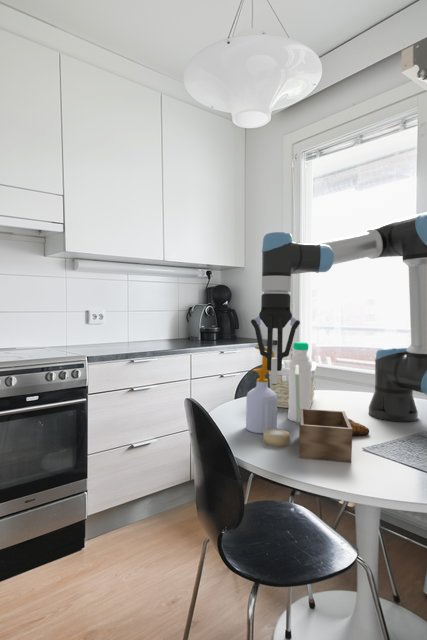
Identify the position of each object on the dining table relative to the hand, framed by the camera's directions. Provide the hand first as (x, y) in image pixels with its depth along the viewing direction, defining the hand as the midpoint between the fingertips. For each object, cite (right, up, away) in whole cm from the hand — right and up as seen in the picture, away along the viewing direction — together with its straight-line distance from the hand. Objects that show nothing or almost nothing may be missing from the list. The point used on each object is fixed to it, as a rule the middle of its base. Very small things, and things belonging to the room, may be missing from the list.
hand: (274, 382), depth 106 cm
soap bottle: (-2, -16, +13) cm, 21 cm away
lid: (+6, -2, -1) cm, 7 cm away
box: (+12, -17, -2) cm, 21 cm away
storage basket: (+14, -15, +47) cm, 51 cm away
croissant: (+22, -17, +10) cm, 30 cm away
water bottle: (+12, -16, +24) cm, 31 cm away
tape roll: (+1, -16, +2) cm, 17 cm away
